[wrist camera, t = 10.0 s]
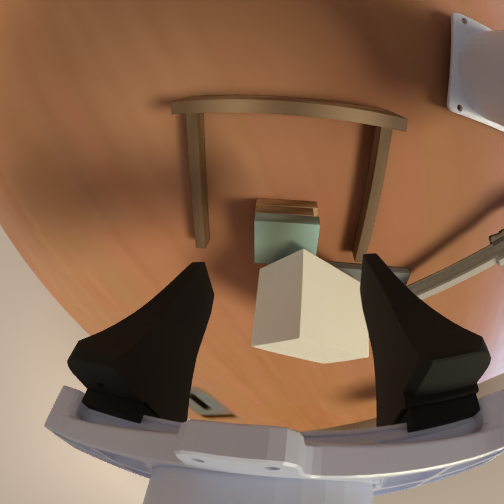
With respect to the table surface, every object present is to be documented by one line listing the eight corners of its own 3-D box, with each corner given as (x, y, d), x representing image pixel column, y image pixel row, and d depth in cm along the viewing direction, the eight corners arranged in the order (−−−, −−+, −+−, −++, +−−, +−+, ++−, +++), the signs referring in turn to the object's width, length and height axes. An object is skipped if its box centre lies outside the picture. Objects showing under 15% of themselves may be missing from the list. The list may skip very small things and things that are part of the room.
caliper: (525, 186, 17) (565, 228, 12) (526, 194, 17) (565, 236, 12) (363, 306, 26) (380, 364, 21) (368, 311, 26) (384, 367, 22)
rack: (387, 110, 17) (407, 118, 14) (360, 251, 24) (369, 281, 20) (192, 96, 18) (171, 101, 15) (201, 237, 25) (187, 265, 22)
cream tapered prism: (366, 286, 23) (303, 248, 19) (368, 357, 20) (299, 338, 16) (325, 299, 26) (259, 268, 22) (323, 363, 23) (250, 346, 19)
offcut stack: (316, 201, 22) (320, 223, 19) (312, 240, 24) (314, 266, 21) (257, 197, 22) (251, 219, 20) (257, 237, 25) (251, 262, 22)
